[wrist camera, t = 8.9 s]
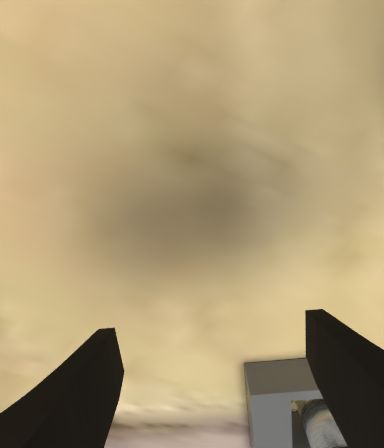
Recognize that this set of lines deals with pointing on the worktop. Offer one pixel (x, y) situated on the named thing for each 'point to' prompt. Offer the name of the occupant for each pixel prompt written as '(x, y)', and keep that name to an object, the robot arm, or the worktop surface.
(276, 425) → the socket strip
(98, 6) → the worktop surface
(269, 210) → the worktop surface
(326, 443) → the jar
